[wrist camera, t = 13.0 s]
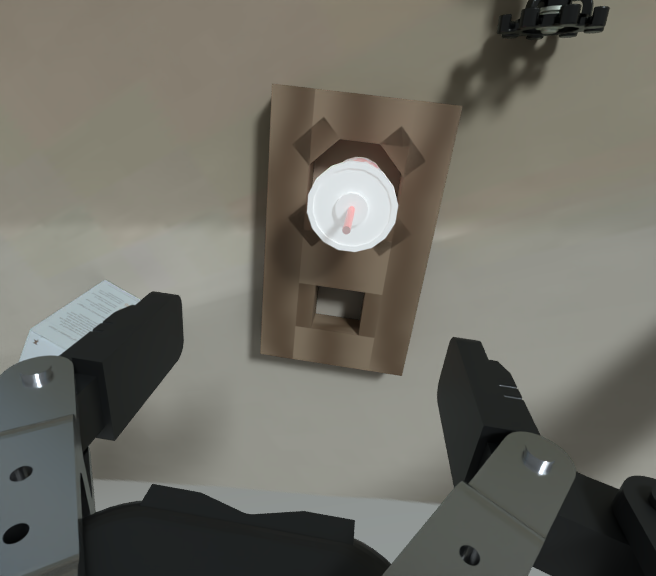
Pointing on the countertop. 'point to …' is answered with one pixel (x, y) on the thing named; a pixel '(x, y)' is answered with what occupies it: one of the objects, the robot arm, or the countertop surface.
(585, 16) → the valve
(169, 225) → the countertop surface
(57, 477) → the robot arm
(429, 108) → the socket plate
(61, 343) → the small box
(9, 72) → the countertop surface
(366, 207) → the beverage cup
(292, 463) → the countertop surface
